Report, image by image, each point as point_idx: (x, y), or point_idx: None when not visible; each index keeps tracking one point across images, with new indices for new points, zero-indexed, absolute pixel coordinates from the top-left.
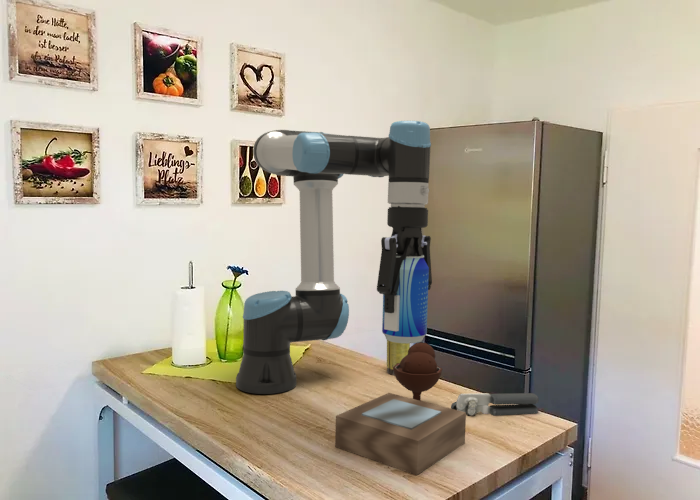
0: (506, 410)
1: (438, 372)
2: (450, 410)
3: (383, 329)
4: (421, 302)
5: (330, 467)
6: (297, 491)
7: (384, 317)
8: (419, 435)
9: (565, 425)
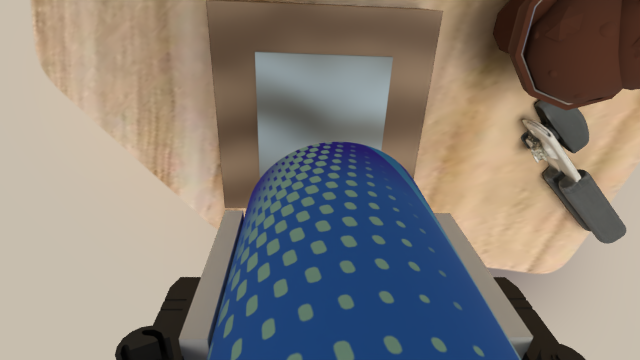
0: (559, 195)
1: (566, 108)
2: None
3: (261, 182)
4: None
5: (149, 53)
6: (43, 64)
7: (214, 241)
8: (247, 198)
9: (547, 267)
